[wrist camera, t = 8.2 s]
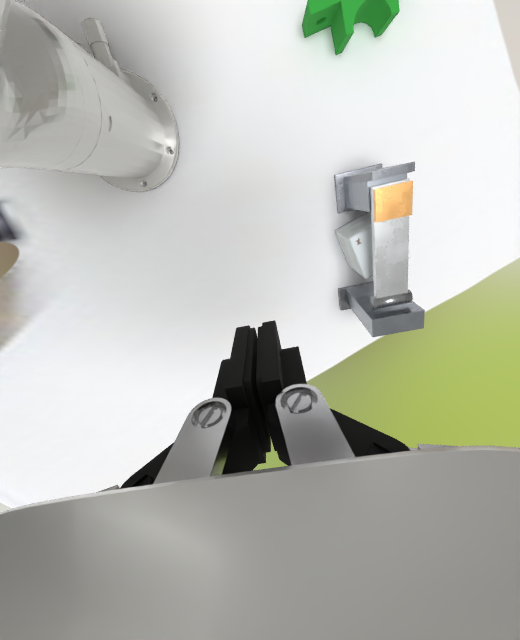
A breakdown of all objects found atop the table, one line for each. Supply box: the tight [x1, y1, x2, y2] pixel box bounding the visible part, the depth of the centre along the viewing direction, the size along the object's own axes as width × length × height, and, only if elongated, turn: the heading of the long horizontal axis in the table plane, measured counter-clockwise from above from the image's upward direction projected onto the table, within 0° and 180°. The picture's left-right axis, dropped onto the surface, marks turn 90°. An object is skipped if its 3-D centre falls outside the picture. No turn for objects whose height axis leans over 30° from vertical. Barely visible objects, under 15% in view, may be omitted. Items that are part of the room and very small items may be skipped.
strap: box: [370, 179, 413, 309], centre depth 30 cm, size 14×4×2 cm, turn 12°
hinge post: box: [338, 282, 425, 337], centre depth 38 cm, size 4×8×12 cm, turn 102°
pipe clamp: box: [302, 0, 399, 55], centre depth 28 cm, size 11×4×5 cm, turn 109°
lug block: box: [334, 162, 415, 213], centre depth 32 cm, size 5×6×11 cm
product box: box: [335, 212, 410, 279], centre depth 36 cm, size 6×6×7 cm
